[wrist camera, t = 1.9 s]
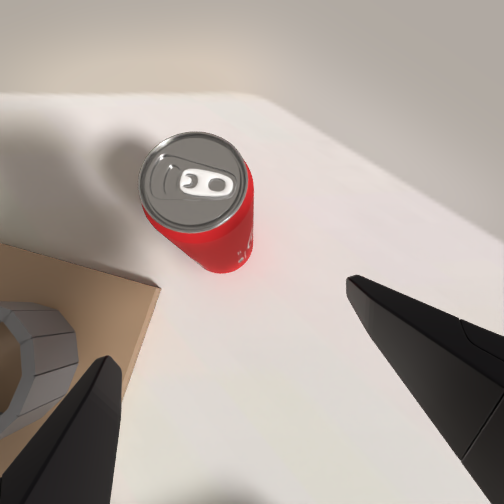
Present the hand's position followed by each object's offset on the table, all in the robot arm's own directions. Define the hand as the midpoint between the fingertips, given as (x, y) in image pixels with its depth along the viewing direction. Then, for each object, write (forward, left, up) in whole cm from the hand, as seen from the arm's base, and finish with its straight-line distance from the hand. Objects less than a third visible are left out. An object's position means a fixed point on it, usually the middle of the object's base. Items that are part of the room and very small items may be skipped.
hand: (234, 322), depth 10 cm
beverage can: (+3, -5, -12) cm, 14 cm away
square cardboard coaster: (+15, +8, -12) cm, 21 cm away
